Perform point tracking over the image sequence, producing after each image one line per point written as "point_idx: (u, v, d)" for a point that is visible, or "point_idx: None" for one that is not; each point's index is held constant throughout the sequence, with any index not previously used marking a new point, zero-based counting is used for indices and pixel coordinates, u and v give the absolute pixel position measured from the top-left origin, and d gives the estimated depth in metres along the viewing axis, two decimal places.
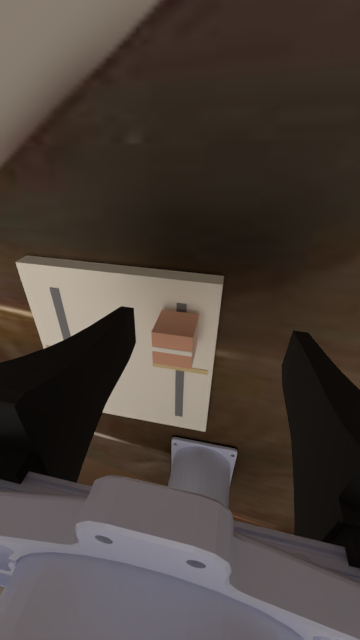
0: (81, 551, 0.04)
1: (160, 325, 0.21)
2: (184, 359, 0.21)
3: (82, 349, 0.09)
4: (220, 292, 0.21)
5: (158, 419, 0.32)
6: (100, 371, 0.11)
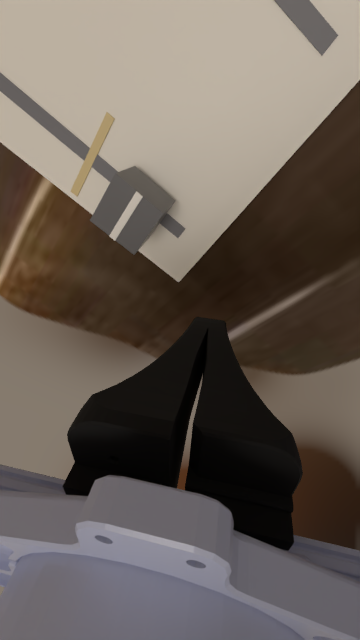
0: (81, 551, 0.04)
1: None
2: None
3: (186, 367, 0.09)
4: None
5: (307, 118, 0.14)
6: (192, 387, 0.10)
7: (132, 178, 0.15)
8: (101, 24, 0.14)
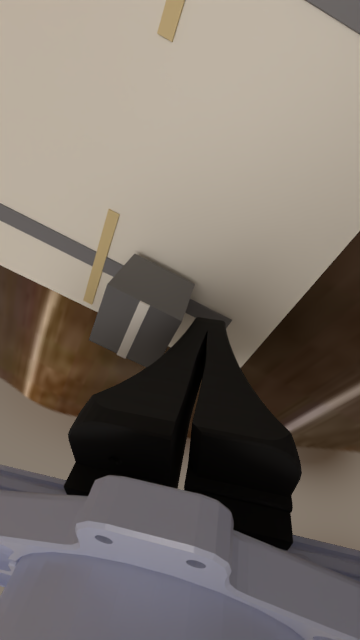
0: (81, 551, 0.04)
1: None
2: None
3: (187, 367, 0.09)
4: None
5: None
6: (192, 387, 0.10)
7: (133, 280, 0.11)
8: (82, 111, 0.10)
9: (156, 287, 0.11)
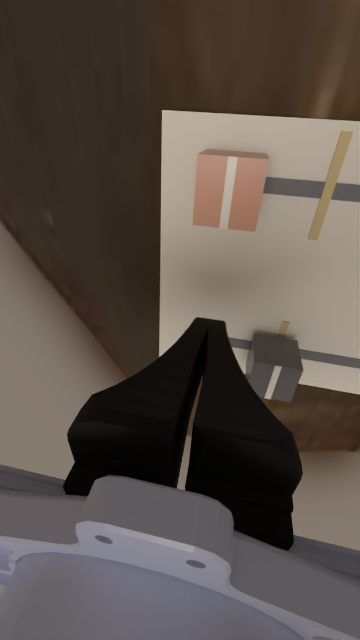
0: (81, 551, 0.04)
1: None
2: (245, 172, 0.12)
3: (186, 367, 0.09)
4: (174, 113, 0.14)
5: None
6: (192, 387, 0.10)
7: (263, 353, 0.19)
8: (263, 280, 0.18)
9: (278, 352, 0.19)
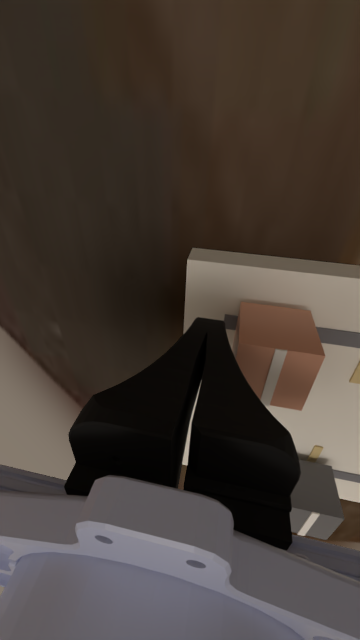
0: (81, 551, 0.04)
1: None
2: (294, 363, 0.10)
3: (187, 367, 0.09)
4: (201, 262, 0.13)
5: None
6: (193, 387, 0.10)
7: (297, 490, 0.17)
8: (295, 410, 0.17)
9: (312, 489, 0.17)
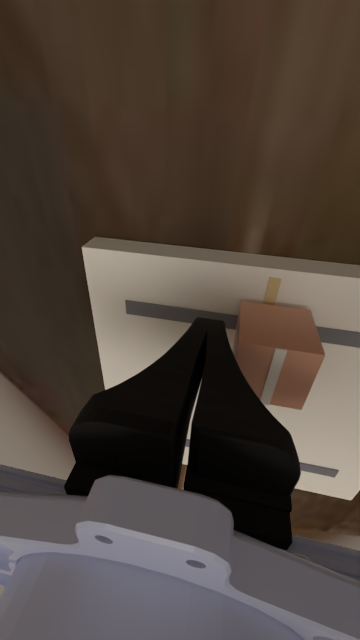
0: (81, 551, 0.04)
1: None
2: (295, 363, 0.10)
3: (187, 367, 0.09)
4: (94, 250, 0.13)
5: None
6: (193, 387, 0.10)
7: None
8: None
9: None
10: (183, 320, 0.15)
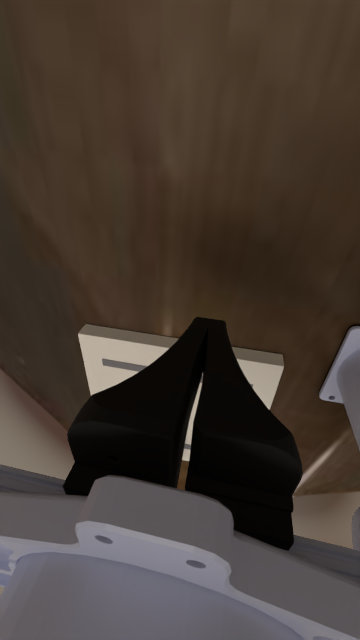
0: (81, 551, 0.04)
1: None
2: None
3: (186, 367, 0.09)
4: (84, 335, 0.26)
5: None
6: (192, 387, 0.10)
7: None
8: None
9: None
10: (133, 369, 0.27)
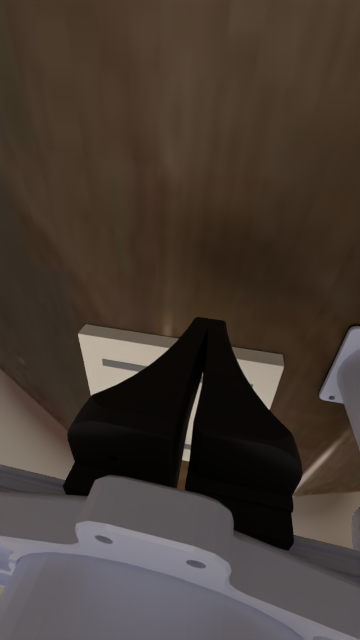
0: (81, 551, 0.04)
1: None
2: None
3: (186, 367, 0.09)
4: (84, 335, 0.26)
5: None
6: (192, 387, 0.10)
7: None
8: None
9: None
10: (133, 369, 0.27)
